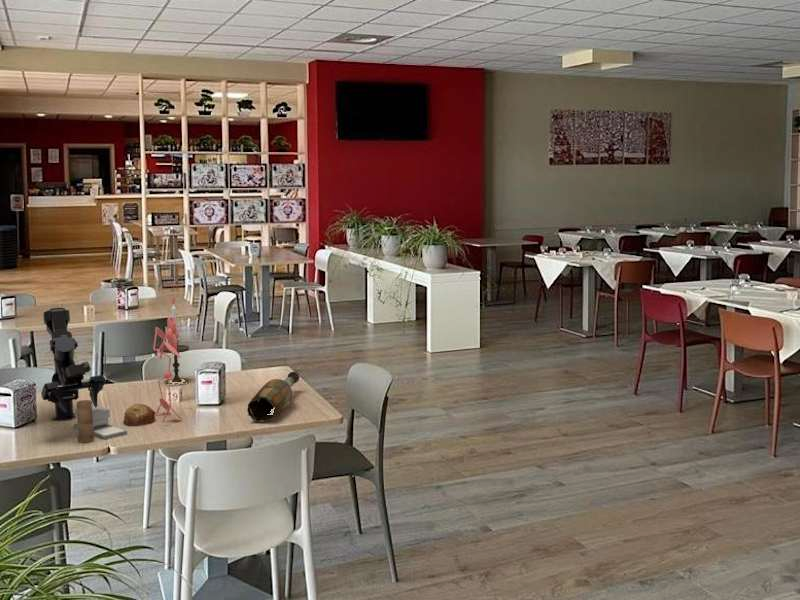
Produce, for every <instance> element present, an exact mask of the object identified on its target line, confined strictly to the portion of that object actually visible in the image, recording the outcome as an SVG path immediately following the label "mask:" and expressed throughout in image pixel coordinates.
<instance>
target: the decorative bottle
mask: <svg viewBox="0 0 800 600" xmlns="http://www.w3.org/2000/svg"><path fill="white" fill-rule="evenodd" d="M299 380H300V375H299V373H298V372H296V371H290V372H289V373H288V374H287V377H286V378H285V379H279V378H275V379H271V380H269V381H267V382H266V383H265V384H264V385H263V386H262V387H261V388H260V389H259V390H258V392H256V393H255V395H254V396H253V397H252V398H251V400H250V401H249V403H248V404H247V413H248V414H247V416H249V417H250V418H251V420H252V421H254V422H256V423H260V424H264V423H265V424H266V423H267V422H270V421H271V420H272V419H273V418H274V417H275V416H276V415H278V414H279V413H281V412H282V410H284V409H285V408H286V407H287V406H288V405H289V403H290V402H291V400H292V397H293V389H292V387H293V386H294V384H296V383H299ZM274 407H275V409H274V413H273V415H267V414H270V413H271V412H270V411H271V409H273V408H274Z"/></svg>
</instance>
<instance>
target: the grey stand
mask: <svg viewBox="0 0 800 600" xmlns="http://www.w3.org/2000/svg"><path fill="white" fill-rule="evenodd" d="M110 410H111V409H109V408H107V407H104V406H100V405H98V404H97V407H96V408H95V406H94V405H93V404H92V412H93V430H94V437H96V438H98V439H100V440H103V439H104V441H105V440H109V438H110V439H113V438H112V437H114V438H117V437H116V436H118V437H121V436H120V435H122V436H126V435H128V431H127V430H125V429H123V428H119V427H117V426H114V425H112V424H109V422H110V421H109V418H110V417H111V413H110ZM73 411H74V413H75V416H74V417H77V407H75V408H74V407H73ZM72 425H73V429H76V430H78V420H77V419H76V423H74V424H72ZM125 434H126V435H125Z"/></svg>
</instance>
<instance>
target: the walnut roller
mask: <svg viewBox="0 0 800 600" xmlns="http://www.w3.org/2000/svg"><path fill="white" fill-rule="evenodd" d="M92 405H93V402H92V400H91V399H88V400H87V399H86V400H85V399H82V400H77V401H76V408H77V416H76V417H77V418H76V421H77V420H78V429H77V433H78V435H77V436H78V437H77V438H78V443H80V444H88V443H89V444H90V443H93V442H94V441H95V436H94V430H93V412H92Z"/></svg>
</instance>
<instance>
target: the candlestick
mask: <svg viewBox="0 0 800 600" xmlns="http://www.w3.org/2000/svg"><path fill="white" fill-rule="evenodd" d="M175 302H176V301H175V296H173V297H172V307H171V308H170V310H171V311H170V312H171V313H170V314H171V319H172V318H173V317H175V323H176V329H177V330H178V323H177V307H176V306H175ZM179 343H180V340H178V339H177V352H178V354H179V355H180V353H185V352H188V351H190V346H189V345H186V344H179ZM161 350H162V347H161V349H160V351H161ZM163 353H165V354H172V355H173V363H172V365H171V366H172V367H173V373H174V377H173V378H170V380H172V379H173V380H172V382H181V381H182V380H181V379H184V380H185V382H183V383H186V382H188V383H189V378H188V379H187V378H183V377H180V376H179V372H180V369H179V367H180V363H179V362H178V361H179V359H178V358H179V357H177V356H176V355H174V354H173V353H172V352H170V351H169V350H168V348H167V347H166V346H165V345H164V348H163ZM168 381H169V379H166V380H165V381H164V384H165V383H166V384H169V382H168ZM166 384H165V385H166ZM170 384H172V383H170ZM175 384H178V383H175Z"/></svg>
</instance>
